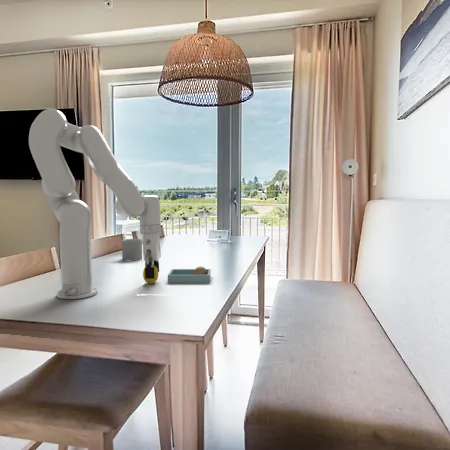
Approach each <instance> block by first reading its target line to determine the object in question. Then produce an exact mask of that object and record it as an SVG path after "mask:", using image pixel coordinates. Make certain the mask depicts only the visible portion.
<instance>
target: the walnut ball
mask: <svg viewBox="0 0 450 450" xmlns="http://www.w3.org/2000/svg"><path fill="white" fill-rule="evenodd" d="M194 269H195V270H194V275H207V271H206V269H207V268H205V267H203V266H198V267H196V268H194Z"/></svg>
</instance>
